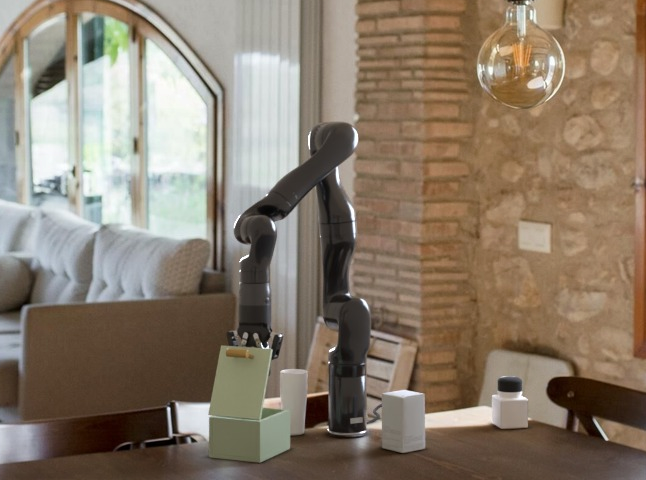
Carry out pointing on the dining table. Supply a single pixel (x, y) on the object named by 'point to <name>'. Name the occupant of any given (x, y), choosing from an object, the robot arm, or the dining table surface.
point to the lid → (240, 382)
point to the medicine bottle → (509, 404)
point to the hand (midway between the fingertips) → (254, 377)
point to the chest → (250, 436)
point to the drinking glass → (294, 397)
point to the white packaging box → (403, 421)
